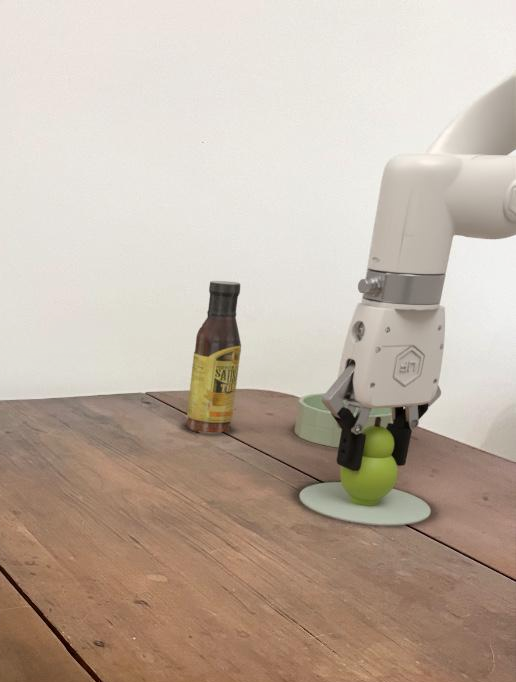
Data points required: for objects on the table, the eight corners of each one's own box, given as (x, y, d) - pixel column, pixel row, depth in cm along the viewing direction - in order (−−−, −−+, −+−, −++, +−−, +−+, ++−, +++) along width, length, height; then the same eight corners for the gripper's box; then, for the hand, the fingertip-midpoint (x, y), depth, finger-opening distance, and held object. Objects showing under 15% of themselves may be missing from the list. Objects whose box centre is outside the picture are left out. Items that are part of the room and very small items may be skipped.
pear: (379, 492, 105) (395, 410, 101) (400, 510, 99) (417, 424, 95) (328, 492, 104) (341, 409, 100) (346, 510, 99) (361, 423, 95)
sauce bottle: (214, 439, 125) (230, 285, 116) (176, 429, 129) (189, 280, 120) (240, 431, 129) (257, 282, 121) (203, 422, 133) (217, 278, 125)
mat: (399, 485, 109) (400, 482, 109) (452, 527, 96) (453, 524, 96) (284, 484, 108) (284, 481, 107) (321, 526, 95) (322, 523, 95)
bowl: (372, 428, 133) (378, 394, 131) (408, 454, 121) (415, 417, 119) (282, 427, 132) (287, 392, 130) (310, 453, 120) (316, 415, 118)
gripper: (359, 296, 86) (328, 482, 94) (494, 294, 92) (455, 467, 100) (309, 287, 92) (284, 461, 100) (439, 285, 99) (407, 449, 106)
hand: (370, 463), depth 100 cm, fingers closed on pear, 5 cm apart
